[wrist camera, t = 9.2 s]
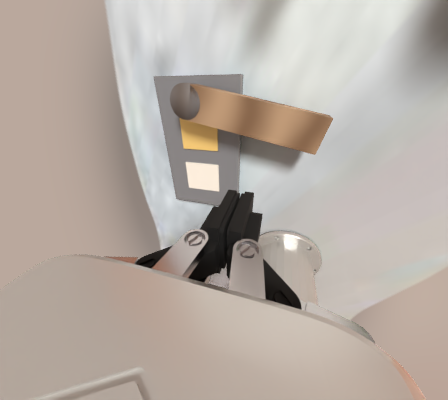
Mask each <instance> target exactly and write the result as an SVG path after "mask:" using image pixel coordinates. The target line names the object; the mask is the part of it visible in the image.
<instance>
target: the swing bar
mask: <svg viewBox="0 0 448 400" xmlns="http://www.w3.org/2000/svg"><path fill="white" fill-rule="evenodd" d="M170 104H171V107H172V110H173V111H174V113H175V114H176V115H177V116H178V117H179V118H181V119H183V120H188V121H191V122H194V123H198V124H202V125H206V126H209V127H213V128H217V129H221V130H224V131H228V132H232V133H236V134H239V135H243V136H247V137H251V138H254V139H258V140H262V141H266V142H269V143H273V144H277V145H281V146H284V147H288V148H292V149H295V150H299V151H303V152H307V153H310V154H314V155H315V154H316V152H317V150H318V148H319V146H320V144H321V142H322V140H323V138H324V136H325V134H326V132H327V130H328V128H329V126H330V124H331V122H332V120H333V118H332V117H331V116H329V115H326V114H321V113H317V112H313V111H309V110H305V109H300V108H296V107H292V106H288V105H284V104H279V103H275V102H271V101H267V100H263V99H258V98H254V97H250V96H246V95H242V94H237V93H233V92H229V91H225V90H221V89H216V88H212V87H208V86H204V85H200V84H195V83H179V84H177V85H175V86H174V87H173V89H172V91H171V93H170Z"/></svg>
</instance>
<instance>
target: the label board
mask: <svg viewBox="0 0 448 400" xmlns="http://www.w3.org/2000/svg"><path fill="white" fill-rule="evenodd" d="M154 82H155V87H156V92H157V98H158V103H159V108H160V114H161V119H162V124H163V130H164V135H165V140H166V146H167V151H168V156H169V162H170V167H171V172H172V178H173V183H174V188H175V194H176V199H181V200H187V201H194V202H201V203H207V204H214V205H220V204H221V202H222V200H223V198H224V197H225V195H226V193H227V191H228V190H236V191H237V193H239V172H240V145H241V135H239V134H236V133H232V132H228V131H224V130H221V129H217V128H213V127H209V126H206V125H202V124H198V123H194V122H191V121H188V120H183V119H181V118H179V117H178V116H177V115H176V114H175V113H174V111H173V110H172V107H171V104H170V93H171V91H172V89H173V87H174V86H175V85H177V84H179V83H195V84H200V85H204V86H208V87H212V88H216V89H221V90H225V91H229V92H233V93H237V94H242V90H243V75H242V74H232V75H194V76H156V77H154Z"/></svg>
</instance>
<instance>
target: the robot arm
mask: <svg viewBox="0 0 448 400" xmlns="http://www.w3.org/2000/svg"><path fill="white" fill-rule="evenodd" d="M253 198H254V193H251V192H245V194H243V193H242V194H241V197H240V193H237V191H236V190H228V191H227V193H226V195H225V197H224V198H223V200H222V202H221V204H220V206H219V207H215V206H214V207H213V208H212V210H211V212H210V213H209V215H208V217H207V218H206V220H205V222H204V223H203V225H202V227H201V228H200V229H193V230H190V231H188V232H186V233H185V234H184V235H183V236H182V237H181V238H180V239H179V240H178V241H177V242H176V243H175V244H174V245H173V246H171V247H168V248H165V249H163V250H160V251H157V252H154V253H152V254H149V255H146V256H144V257H142V258H140V259H138V257H107V256H106V257H101V256H94V255H66V256H59V257H55V258H51V259H48V260H46V261H43V262H42V263H40V264H38V265H36V266H35V267H33V268H32V269H30V270H28V271H26V272H25V273H23V274H22V275H21V276H19V277H18V278H16V279H15V280H13V281H12V282H10V283H9V284H7V285H6V286H4V287H3V288H2V289H0V400H426V398H425V397H424V395H423V393H422V392H421V390H420V389H419V387H418V386H417V384H416V383H415V381H414V380H413V379H412V377H411V376H410V375H409V374H408V372H407V371H406V370H405V369H404V368H403V367H402V366H401V365H400V364H399V363H398V362H397V361H396V360H395V359H394V358H393V357H391V356H390V355H389V354H388V353H387V352H385V351H384V350H382V349H381V348H380V347H379V346H377V345H376V344H375V342H374V340H373V338H372V337H371V335H370V334H369V333H368V332H367V331H366V330H365V329H364V328H362V327H361V326H359V325H358V324H356V323H354V322H352V321H350V320H348V319H345V318H343V317H341V316H339V315H337V314H335V313H333V312H330V311H328V310H326V309H324V308H322V307H320V306H318V300H317V293H316V286H315V280H314V275H315V274H316V273H317V272H318V271H319V269H320V267H321V255H320V252H319V250H318V248H317V247H316V245H315V244H314V243H313V242H312V241H310V240H309V239H307V238H306V237H304V236H302V235H299V234H297V233H293V232H287V231H273V232H268V233H265V234H263V235H261V236H259V235H260V228H261V221H262V214H260V213H253V212H252V208H253ZM226 263H227V276H228V278H229V288H228V289H226V288H222V287H218V286H215V285H211V284H208V283H209V281H210V279H211V275H212V274H214V273H219V274H220V271H221V268H223V269H224V268H225V266H226Z"/></svg>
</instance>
